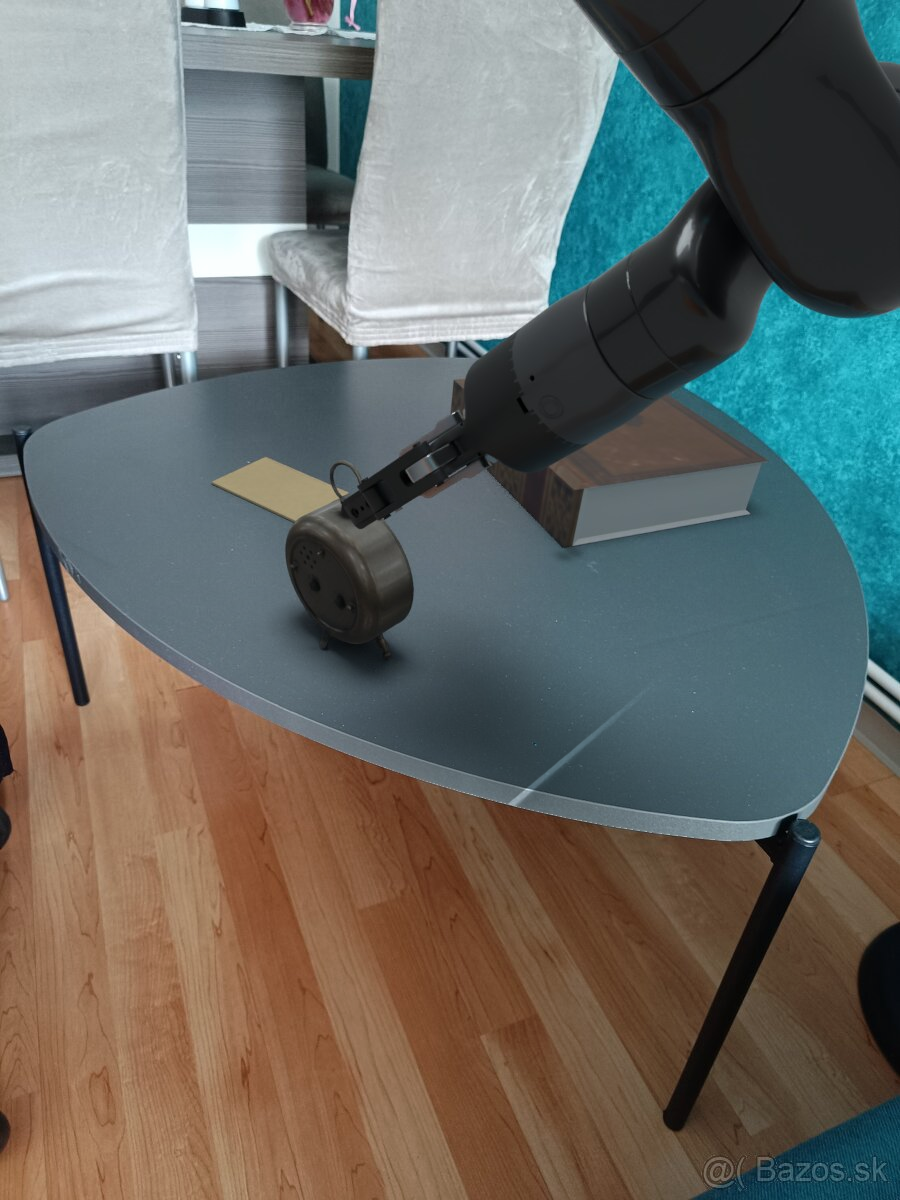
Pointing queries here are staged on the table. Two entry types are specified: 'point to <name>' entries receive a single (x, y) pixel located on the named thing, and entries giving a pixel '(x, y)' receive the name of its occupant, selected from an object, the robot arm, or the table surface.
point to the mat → (279, 488)
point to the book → (636, 477)
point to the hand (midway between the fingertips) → (391, 492)
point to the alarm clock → (349, 573)
